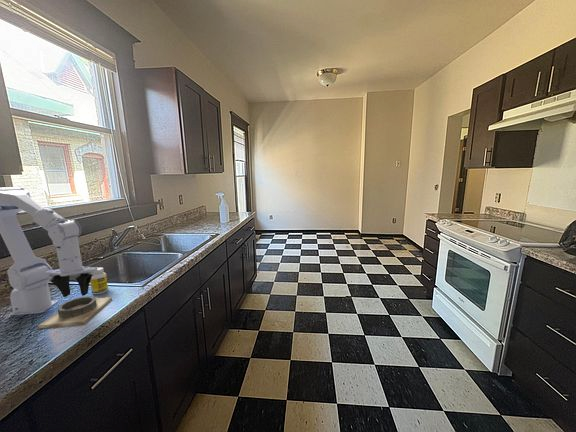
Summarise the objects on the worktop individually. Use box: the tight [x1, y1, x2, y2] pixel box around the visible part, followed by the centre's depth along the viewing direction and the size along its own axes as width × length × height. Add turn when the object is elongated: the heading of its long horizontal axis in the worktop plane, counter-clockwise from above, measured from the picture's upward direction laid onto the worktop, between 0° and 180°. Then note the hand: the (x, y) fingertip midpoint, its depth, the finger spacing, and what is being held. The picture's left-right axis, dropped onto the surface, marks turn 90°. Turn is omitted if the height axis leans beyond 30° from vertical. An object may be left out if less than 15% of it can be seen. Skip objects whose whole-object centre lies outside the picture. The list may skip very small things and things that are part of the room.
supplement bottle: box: [89, 267, 109, 295], centre depth 100 cm, size 5×5×10 cm
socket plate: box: [37, 295, 113, 329], centre depth 85 cm, size 13×16×4 cm
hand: (76, 295), depth 85 cm, fingers open, 5 cm apart
